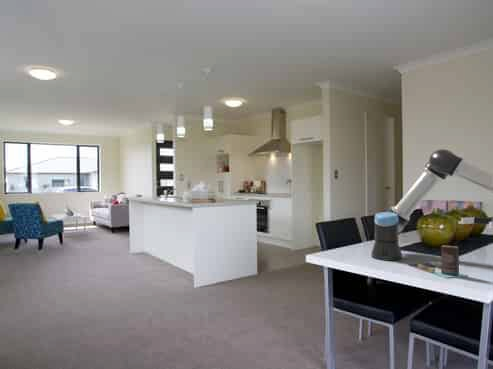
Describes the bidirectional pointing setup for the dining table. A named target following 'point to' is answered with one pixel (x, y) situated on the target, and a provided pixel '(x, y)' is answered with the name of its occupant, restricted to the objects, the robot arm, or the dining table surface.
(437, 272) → the pad
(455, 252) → the box
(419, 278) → the dining table surface
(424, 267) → the trap track
